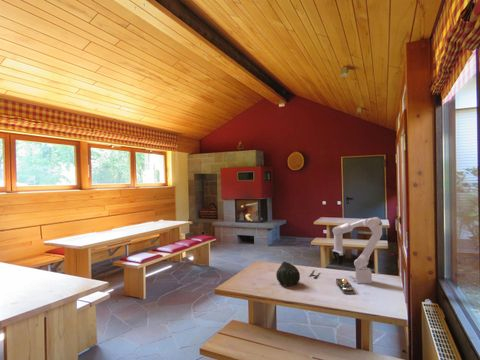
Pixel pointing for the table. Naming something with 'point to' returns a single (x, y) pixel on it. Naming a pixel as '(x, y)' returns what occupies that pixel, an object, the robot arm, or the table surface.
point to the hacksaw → (315, 275)
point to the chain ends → (345, 290)
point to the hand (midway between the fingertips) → (338, 263)
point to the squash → (287, 274)
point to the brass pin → (344, 282)
